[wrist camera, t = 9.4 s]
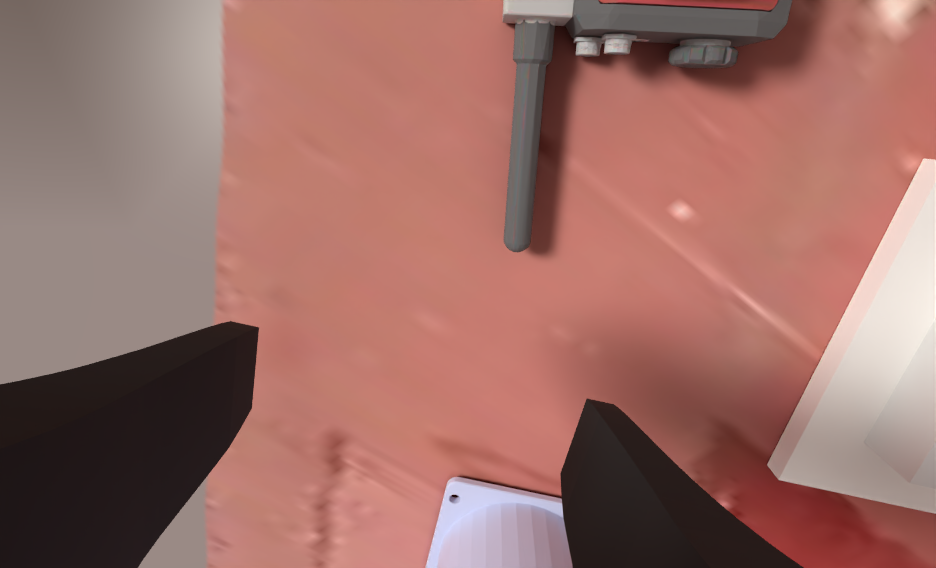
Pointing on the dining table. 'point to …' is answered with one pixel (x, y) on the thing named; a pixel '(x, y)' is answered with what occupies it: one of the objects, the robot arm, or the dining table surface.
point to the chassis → (877, 375)
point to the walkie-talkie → (617, 25)
